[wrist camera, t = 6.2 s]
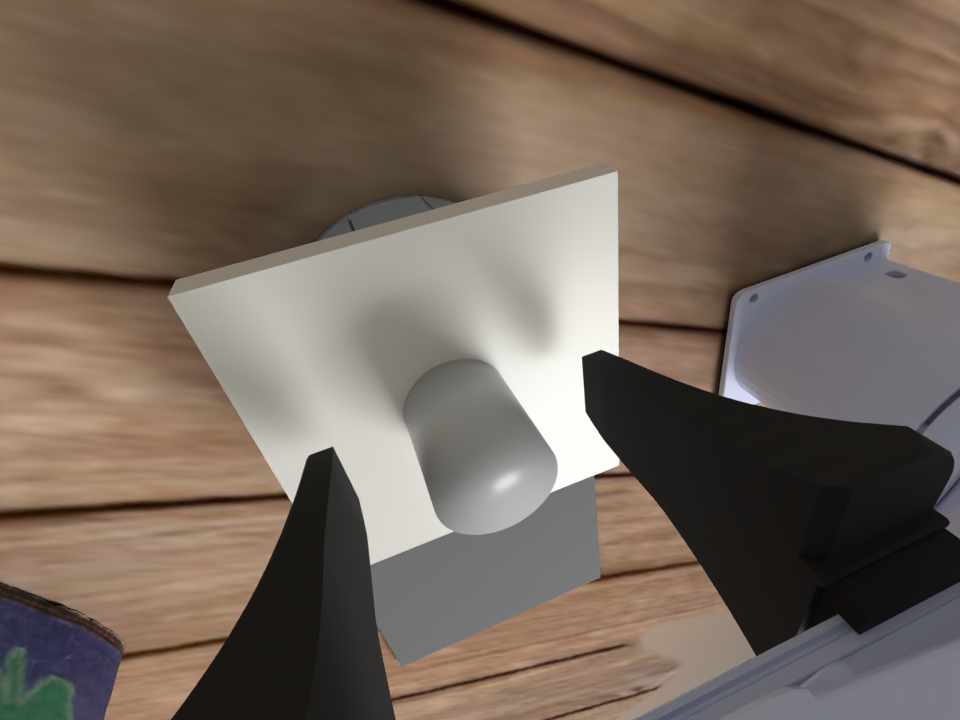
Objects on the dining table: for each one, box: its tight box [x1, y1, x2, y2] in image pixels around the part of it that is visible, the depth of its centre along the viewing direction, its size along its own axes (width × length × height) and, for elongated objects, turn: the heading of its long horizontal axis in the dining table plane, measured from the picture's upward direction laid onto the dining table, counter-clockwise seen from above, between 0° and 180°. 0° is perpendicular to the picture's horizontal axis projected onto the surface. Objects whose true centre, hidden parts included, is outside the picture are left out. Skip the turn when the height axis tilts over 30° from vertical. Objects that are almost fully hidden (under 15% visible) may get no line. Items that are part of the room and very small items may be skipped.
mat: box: [370, 475, 600, 666], centre depth 27 cm, size 14×15×1 cm
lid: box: [168, 164, 619, 565], centre depth 13 cm, size 11×11×4 cm
